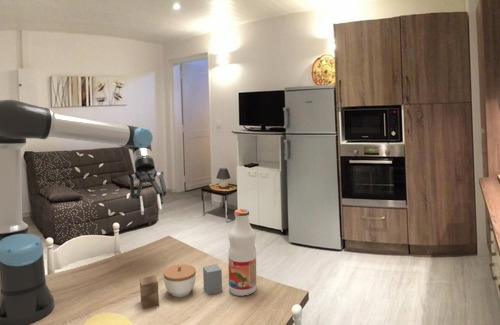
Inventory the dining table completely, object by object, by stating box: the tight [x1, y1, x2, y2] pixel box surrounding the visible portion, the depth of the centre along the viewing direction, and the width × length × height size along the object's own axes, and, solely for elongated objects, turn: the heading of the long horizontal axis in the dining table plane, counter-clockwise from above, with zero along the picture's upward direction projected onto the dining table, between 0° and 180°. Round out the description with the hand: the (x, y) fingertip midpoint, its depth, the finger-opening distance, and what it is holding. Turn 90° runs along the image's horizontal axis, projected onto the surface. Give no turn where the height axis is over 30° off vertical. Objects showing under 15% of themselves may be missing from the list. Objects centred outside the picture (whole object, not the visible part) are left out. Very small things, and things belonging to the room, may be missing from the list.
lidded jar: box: [162, 263, 197, 298], centre depth 119 cm, size 11×11×9 cm
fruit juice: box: [227, 208, 257, 297], centre depth 119 cm, size 9×9×28 cm
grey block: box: [202, 263, 223, 296], centre depth 121 cm, size 5×5×8 cm
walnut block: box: [139, 274, 160, 310], centre depth 113 cm, size 5×5×8 cm
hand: (151, 211), depth 130 cm, fingers open, 6 cm apart
